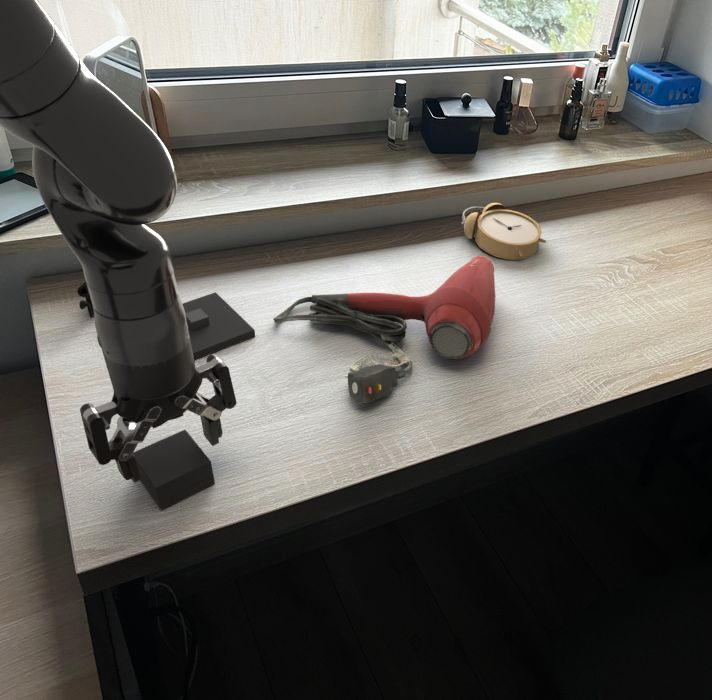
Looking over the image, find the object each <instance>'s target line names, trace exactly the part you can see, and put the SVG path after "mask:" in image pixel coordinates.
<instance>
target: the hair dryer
mask: <svg viewBox="0 0 712 700" xmlns="http://www.w3.org/2000/svg"><path fill="white" fill-rule="evenodd" d="M495 269H496V268H495V263H494V261H492V260H491V259H490V258H489V257H487V256H485V255H476V256H474V257H473V258H471V259H470V261H468V262H467V263H465V264H464V265H463V266H461V267H459V268H458V269H456V270H455V272H453V273H452V274H451V275H450V276H449V277H448V278H447V279H446V280H445V281H444V282H443V283H442V284H441V285H440V286H439V287H438V288H437V289H436V290H434V291H433V292H432V293H430V294H427V295H422V296H409V295H403V294H398V293H387V292H352V293H351V292H350V293H333V294H330V293H329V294H312V295H311V296H305V297H302V298H299V299H298V300H296V301H295V302H293V304H291V305H290V306H288V307H287V308H286V309H285V310H284V311H282V312H280V313H279V314H278V315H276V316H274V317H272V320H273V321H274V323H275V324H280V323H281V324H282V323H286V322H295V321H309V322H312V323H315V324H325V325H338V326H346V327H351V328H353V329H355V330H359V331H362V332H364V333H366V334H369V335H371V336H373V337H374V338H375V339H377V340H379V341H380V342H381V343H383V344H385V346H386V347H388V348H389V349H390V350H391V351H392V353H388V354H384V355H380V354H381V352H375V351H372V352H371V351H370V352H368V353H366V354H365V355H362V356H361V357H360V358H358V359H357V360H356V361H355V362H353V363H352V364H351V365H350V366H349V370H351V371H349V372H348V373H346V374H344V377H345V379H347V383H345V388H347V389H348V393H349V398H351V400H353V401H355V402H356V403H362V404H368V403H372V402H374V401H377V400H379V399H382V398H384V397H386V396H389V395H391V394H392V391H393V388H394V387H397V386H398V382H399V380H400V379H402V378H405V377H406V376H407V375H408V374H409V373H410V372H411V371H412V368H413V360H412V359H411V358H410V357H409V356H408V355H407V354H406V353H405V352H404V351H403V350H402V349H401V348H400V347H399V346H398V345H397V344H400V343H401V341H402V340H404V339H405V337H406V334H407V331H406V330H407V328H408V326H407V322H406V321H411V320H413V321H414V320H416V321H420V322H423V323H424V325H425V332H426V335H427V338H428V342H429V344H430V346H431V347H432V348H433V350H434V352H436V353H437V354H438V355H439V356H442V357H443V358H446V359H450V360H460V359H465V358H468V357H469V356H471V355H473V354H474V353H476V352H478V350H480V349H481V348H482V347H483V345H484V344H485V343H486V342H487V340H488V339H489V336H490V333H491V330H492V329H491V328H492V324H493V322H494V321H493V320H494V316H495V309H496V297H497V296H496V283H495ZM306 303H311V304H310V305H309V308H308V309H309V311H311V312H310V313H308V314H294V315H293V314H291V312H292V311H293V310H294V309H295V307H297V306H299V305H302V304H306ZM289 314H291V315H289ZM396 343H397V344H396ZM379 355H380V356H379ZM375 356H377V357H375ZM390 359H391V360H390ZM396 359H397V360H396ZM404 364H406V365H407V366H406V367H405V368H401V369H397V368H396V367H400V366H402V365H404Z"/></svg>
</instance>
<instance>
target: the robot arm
mask: <svg viewBox="0 0 712 700" xmlns="http://www.w3.org/2000/svg"><path fill="white" fill-rule="evenodd" d="M0 127H1V129H4V130H5V131H6V132H8V133H9V134H10V135H12V136H14V137H15V138H17V139H19V140H20V141H21V140H22V141H23V142H26V143H27V144H30V145H32V146H33V147H32V156H31V157H32V158H31V166H32V174H33V179H34V181H35V185H36V188H37V190H38V193H39V195H40V198H41V200H42V202H43V205H44V206H45V208H46V209H47V212H48V213H49V215H50V216H51V218H52V220H53V222H54V223H55V225H56V227H57V228H58V230H59V232H60V233H61V235H62V237H63V239H64V241H65V242H66V244H67V245H68V247H69V248H70V250H71V252H72V253H73V254H74V255H75V257H76V259H77V260H78V262H79V264H80V266H81V269H82V273H83V277H84V282H86V285H87V288H88V292H89V295H90V299H91V302H92V306H93V310H94V315H93V316H94V318H93V319H94V320H93V321H94V326H95V331H96V334H97V336H96V338H97V343H98V346H99V347H100V349H101V352H102V355H103V358H104V362H105V365H106V368H107V372H108V375H109V379H110V382H111V387H112V389H113V395H112V398H111V400H110V401H109V402H106V403H103V404H100V405H97V406H94V404H93V403H90V402H88V403H87V402H86V403H83V405H82V406H80V409H79V412H80V417H81V421H82V425H83V430H84V434H85V438H86V441H87V442H86V443H87V445H88V449H89V450H90V452H91V453H92V455H93V457H94V458H95V460H96V461H97V462H98V465H100V466H105V465H108V464H109V463H111V461H115V463H116V466H117V470H118V472H119V473H120V474H121V476H122V478H123V479H124V480H125V481H130V480H131V482H132V484H133V483H134V484H135V483H136V482H140V480H141V478H140V475H139V471H138V468H137V464H136V461H135V457H134V456H133V452H135V450H136V449H137V446H138V445H139V444H142V443H143V442H144V441H145V439H146V437H147V435H148V433H149V432H150V430H151V428H152V429H157V428H158V427H160V426H162V425H164V424H166V423H167V422H168V421H173V420H177V419H179V418H182V417H183V416H184V413H185V412H187V411H188V412H191V413H193V414H195V415H197V416H199V417H200V422H201V426H202V427H201V428H202V431H203V435H204V437H205V439H206V441H208V443H209V444H210V445H211V446H212V447H214V446H216V445H218V444H220V440H219V439H220V438H222V436H223V427H222V422H221V417H222V413H223V412H224V411H225V410H226V409H228V410H232V409H233V408H235V407H236V405H237V398H236V393H235V389H234V384H233V380H232V377H231V373H230V368H229V366H227V364H226V363H225V362H224V361H223V360H222V359H221V358H220V357H219V356H218V355H217V354H215V353H211V354H209V355H207V358H206V363H203V364H201V365H199V366H196V363H195V360H194V357H193V351H192V346H191V341H190V335H189V330H188V325H187V320H186V314H185V310H184V307H183V304H182V303H183V301H182V298H181V297H180V293H179V290H178V285H177V279H176V273H175V268H174V263H173V258H172V254H171V251H170V248H169V246H168V243H167V242H166V240H165V239H164V237H163V236H162V235H160V234H159V233H158V232H157V231H156V230H154V229H153V228H151V227H149V226H148V225H147V224H151V223H153V222H155V221H157V220H159V219H160V218H162V217H163V216H165V214H167V212H168V211H169V210H170V209H171V207H172V205H173V204H174V201H175V198H176V195H177V190H178V179H177V171H176V166H175V163H174V161H173V158H172V156H171V154H170V151H169V150H168V148H167V147H166V144H164V142H163V141H162V140H161V138H160V137H159V136H158V135H157V134H156V132H155V131H154V130H153V129H152V128H151V127H150V126H149V125H148V124H147V123H146V122H145V121H144V120H143V119H142V118H141V117H140V116H139V115H138V114H137V113H136V112H134V110H133V109H132V108H130V106H129V105H127V104H126V103H125V101H123V100H122V99H121V98H120V97H119V96H118V95H117V94H116V93H115V92H113V91H112V90H111V89H110V88H109V87H107V86H106V85H105V84H104V83H103V82H102V81H100V80H99V78H97V76H96V75H94V74H93V73H92V72H91V71H90V70H89V69H88V68H87V66H86V64H85V63H84V62H83V60H82V59H81V57H80V56H79V54H78V52H76V50H75V48H74V47H73V46H72V44H71V43H70V41H69V40H68V39H67V37H66V36H65V34H64V33H63V32H62V31H61V29H60V28H59V26H58V25H57V24H56V23H55V21H54V20H53V19H52V17H51V16H50V15H49V13H48V12H47V11H46V9H45V8H44V6H43V5H42V4H41V2H40V1H39V0H0ZM204 379H206V380H207V381H208V382H209V383H211V384H212V387H213V391H214V395H213V396H212V397H210V398H209V397H206V396H205V395H203V394H201V393H200V392H198V391H199V389H200V387H201V386H202V384H203V380H204ZM116 415H118V419H117V421H116V428H115V430H114V433H113V434H112V436H111V439H110V440H109V439H108V434H107V430H109V429H110V428H111V423H112V419H113V417H114V416H116Z"/></svg>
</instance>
